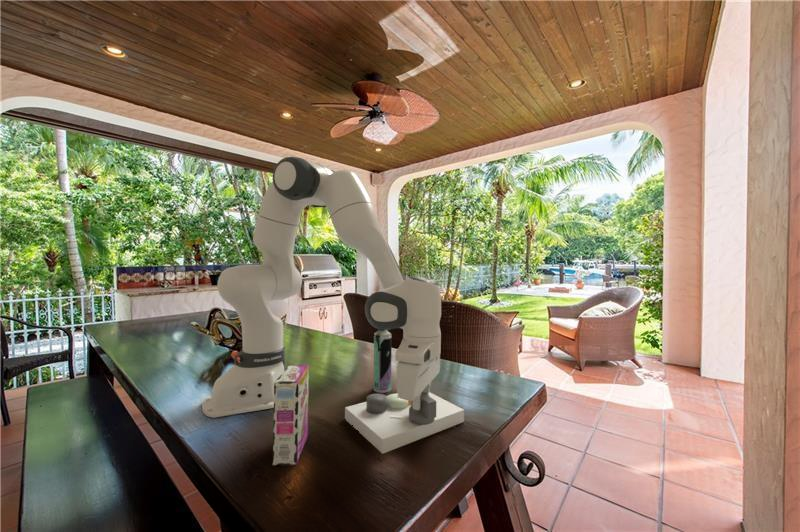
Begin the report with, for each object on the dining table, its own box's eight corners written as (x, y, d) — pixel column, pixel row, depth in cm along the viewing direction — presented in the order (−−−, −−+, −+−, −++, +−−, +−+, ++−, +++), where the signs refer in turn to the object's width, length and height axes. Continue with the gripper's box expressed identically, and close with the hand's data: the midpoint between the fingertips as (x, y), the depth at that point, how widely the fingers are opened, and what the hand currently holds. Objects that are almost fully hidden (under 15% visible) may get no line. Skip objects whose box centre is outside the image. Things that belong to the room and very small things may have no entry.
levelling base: (382, 453, 67) (382, 425, 67) (345, 419, 82) (345, 395, 82) (464, 421, 81) (464, 397, 81) (419, 397, 96) (419, 376, 96)
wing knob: (443, 424, 73) (443, 399, 73) (420, 430, 70) (421, 404, 70) (422, 407, 81) (422, 385, 81) (401, 413, 78) (401, 389, 78)
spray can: (388, 393, 98) (389, 327, 98) (371, 392, 99) (371, 327, 99) (392, 386, 103) (393, 324, 103) (376, 385, 104) (376, 323, 104)
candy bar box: (298, 465, 63) (298, 382, 63) (272, 467, 63) (272, 382, 62) (309, 435, 74) (309, 364, 74) (287, 436, 74) (287, 364, 74)
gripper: (423, 335, 87) (422, 386, 87) (391, 355, 68) (390, 420, 68) (446, 337, 84) (445, 390, 84) (420, 359, 65) (418, 427, 65)
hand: (420, 404), depth 76 cm, fingers closed on wing knob, 4 cm apart
